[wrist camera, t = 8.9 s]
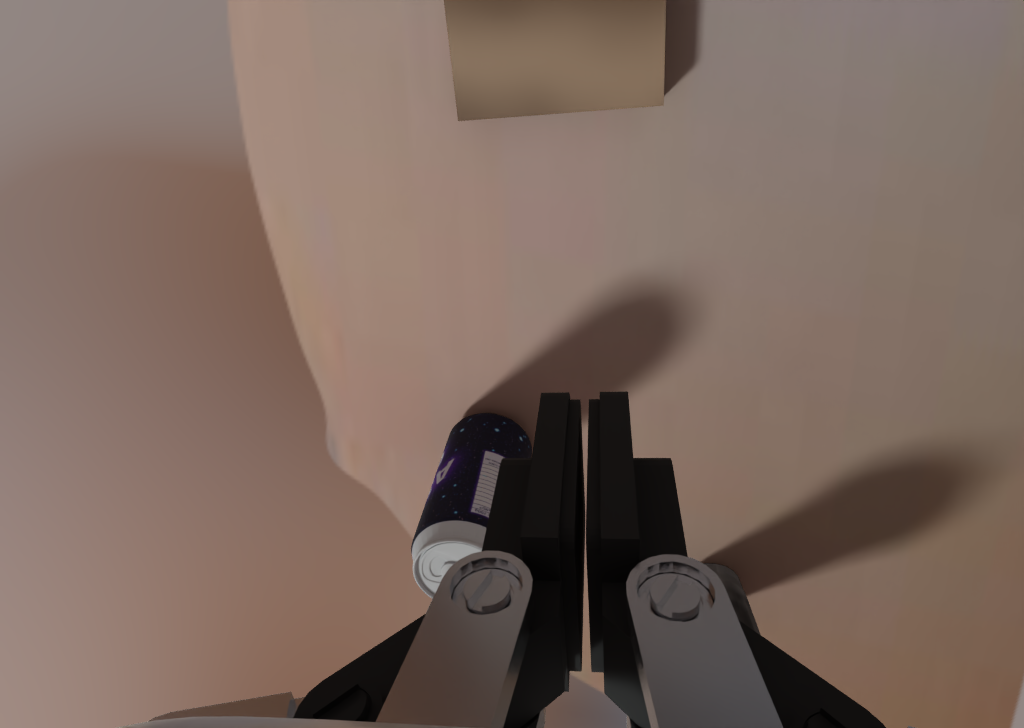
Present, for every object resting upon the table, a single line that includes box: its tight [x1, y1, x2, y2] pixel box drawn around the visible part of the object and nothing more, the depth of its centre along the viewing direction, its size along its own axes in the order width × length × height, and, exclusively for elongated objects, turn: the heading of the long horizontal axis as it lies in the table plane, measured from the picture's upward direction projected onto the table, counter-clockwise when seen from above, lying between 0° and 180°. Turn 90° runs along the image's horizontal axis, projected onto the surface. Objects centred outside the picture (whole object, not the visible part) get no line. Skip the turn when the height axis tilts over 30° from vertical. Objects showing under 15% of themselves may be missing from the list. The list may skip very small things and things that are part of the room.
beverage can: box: [411, 413, 532, 599], centre depth 39 cm, size 6×6×12 cm
